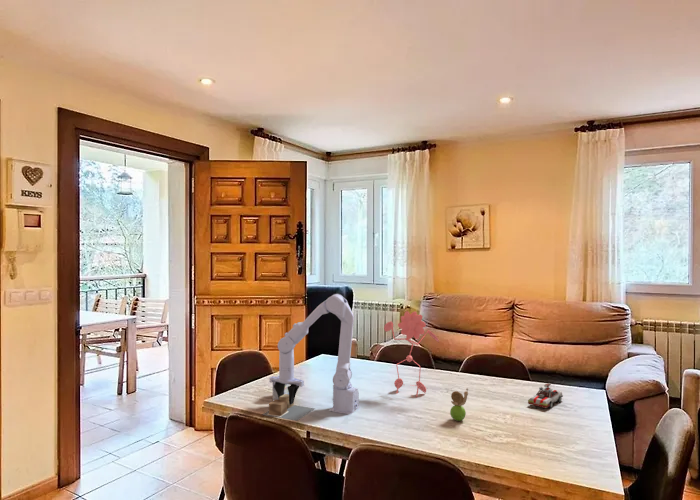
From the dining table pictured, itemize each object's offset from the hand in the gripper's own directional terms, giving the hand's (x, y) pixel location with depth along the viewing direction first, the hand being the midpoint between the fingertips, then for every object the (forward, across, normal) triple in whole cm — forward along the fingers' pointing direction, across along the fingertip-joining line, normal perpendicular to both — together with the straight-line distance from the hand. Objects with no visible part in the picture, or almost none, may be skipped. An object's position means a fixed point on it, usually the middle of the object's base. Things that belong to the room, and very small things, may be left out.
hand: (286, 402), depth 177 cm
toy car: (+2, -92, -47) cm, 103 cm away
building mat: (+2, -4, +4) cm, 6 cm away
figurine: (+2, -39, -40) cm, 56 cm away
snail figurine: (+2, -64, -14) cm, 65 cm away
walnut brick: (+1, -1, +8) cm, 8 cm away
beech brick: (+1, 0, 0) cm, 1 cm away
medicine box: (+2, +8, -8) cm, 12 cm away
